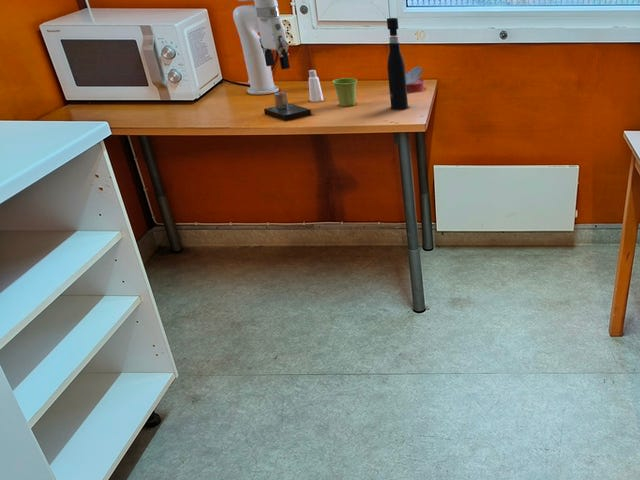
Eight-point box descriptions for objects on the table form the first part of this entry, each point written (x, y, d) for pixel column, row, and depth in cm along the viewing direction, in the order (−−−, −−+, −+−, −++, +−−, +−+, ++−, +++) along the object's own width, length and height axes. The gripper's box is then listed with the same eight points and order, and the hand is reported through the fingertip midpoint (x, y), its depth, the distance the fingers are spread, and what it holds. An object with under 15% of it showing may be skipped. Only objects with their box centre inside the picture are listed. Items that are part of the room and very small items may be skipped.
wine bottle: (410, 106, 242) (404, 17, 225) (403, 110, 237) (396, 20, 220) (395, 105, 244) (387, 17, 227) (388, 109, 239) (379, 19, 222)
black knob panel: (264, 114, 236) (263, 108, 235) (290, 108, 242) (289, 102, 241) (285, 121, 228) (284, 115, 227) (311, 115, 234) (310, 108, 233)
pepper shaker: (317, 102, 249) (312, 72, 243) (307, 101, 251) (302, 71, 245) (326, 99, 253) (322, 69, 246) (316, 98, 255) (312, 68, 249)
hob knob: (274, 107, 235) (271, 92, 232) (284, 105, 238) (281, 90, 235) (280, 109, 233) (277, 94, 230) (291, 107, 236) (288, 92, 232)
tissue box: (423, 102, 265) (423, 82, 256) (399, 99, 265) (398, 79, 256) (425, 83, 270) (425, 63, 261) (402, 81, 270) (401, 60, 261)
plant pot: (362, 101, 249) (360, 78, 244) (356, 107, 242) (353, 83, 237) (339, 101, 250) (336, 77, 245) (332, 107, 242) (329, 83, 237)
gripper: (291, 13, 215) (300, 68, 225) (264, 10, 225) (274, 62, 235) (271, 16, 211) (282, 71, 220) (245, 12, 220) (256, 66, 230)
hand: (278, 67), depth 227 cm, fingers open, 9 cm apart
